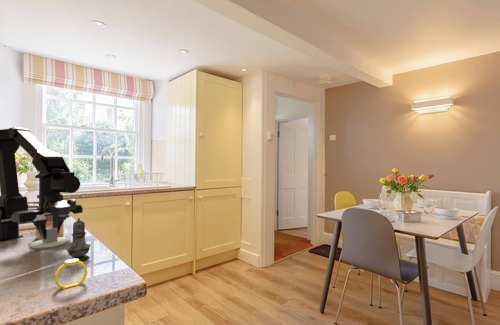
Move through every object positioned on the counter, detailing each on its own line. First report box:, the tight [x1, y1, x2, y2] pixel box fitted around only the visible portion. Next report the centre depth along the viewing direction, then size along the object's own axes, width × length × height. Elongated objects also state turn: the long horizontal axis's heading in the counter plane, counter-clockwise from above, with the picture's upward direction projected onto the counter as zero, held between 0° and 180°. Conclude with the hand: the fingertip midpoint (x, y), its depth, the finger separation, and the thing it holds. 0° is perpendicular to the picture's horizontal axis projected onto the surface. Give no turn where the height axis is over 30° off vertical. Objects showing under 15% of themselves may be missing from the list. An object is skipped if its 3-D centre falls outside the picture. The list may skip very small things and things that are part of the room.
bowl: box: [35, 221, 65, 240], centre depth 97 cm, size 8×8×5 cm
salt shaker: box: [66, 217, 92, 263], centre depth 75 cm, size 6×6×12 cm
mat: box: [27, 236, 73, 253], centre depth 88 cm, size 11×11×1 cm
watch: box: [54, 258, 88, 290], centre depth 59 cm, size 6×3×6 cm, turn 130°
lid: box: [30, 227, 69, 250], centre depth 88 cm, size 10×10×5 cm
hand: (50, 238), depth 88 cm, fingers closed on lid, 3 cm apart
